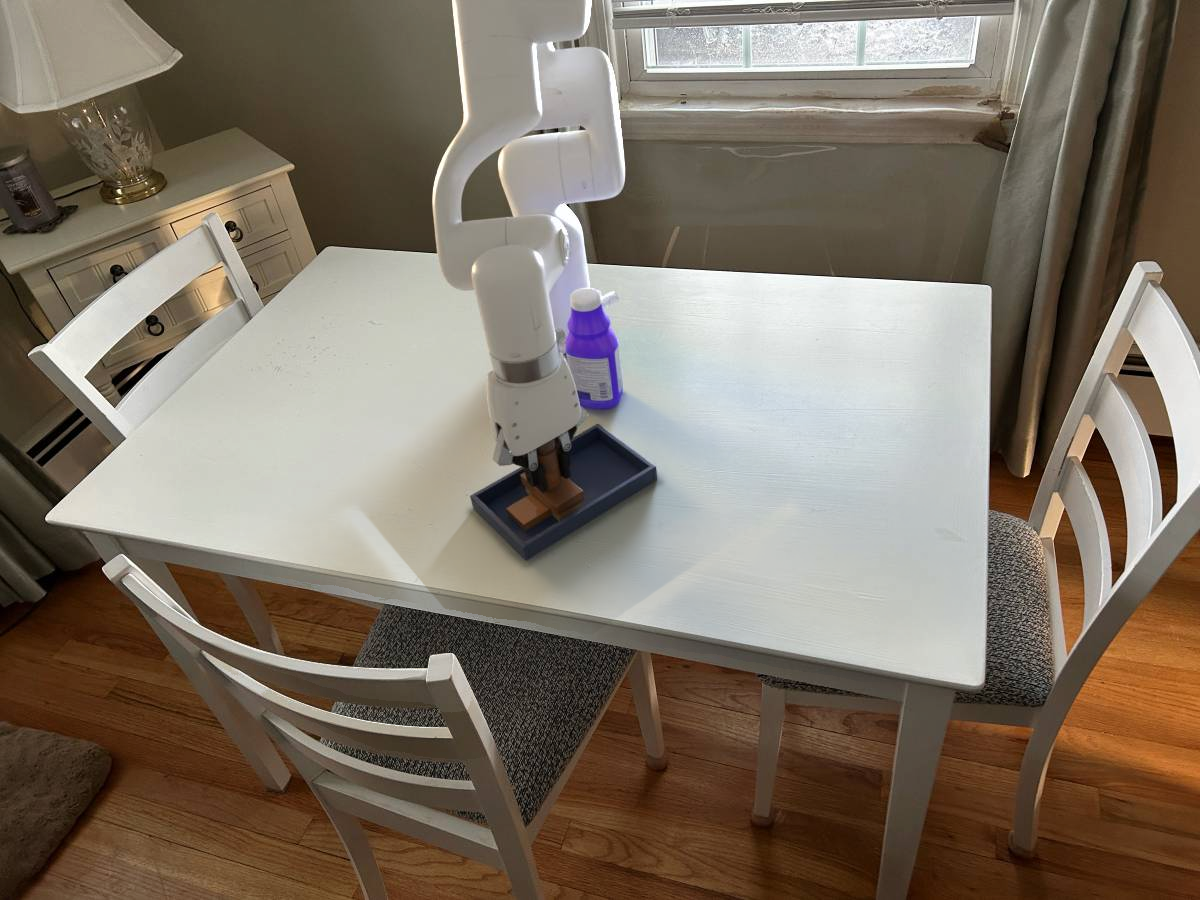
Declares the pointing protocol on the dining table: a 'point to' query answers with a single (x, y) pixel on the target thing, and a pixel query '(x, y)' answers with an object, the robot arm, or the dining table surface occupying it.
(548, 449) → the wooden stamp
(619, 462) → the tray
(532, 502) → the brown square tile
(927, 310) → the dining table surface
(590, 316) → the bottle
